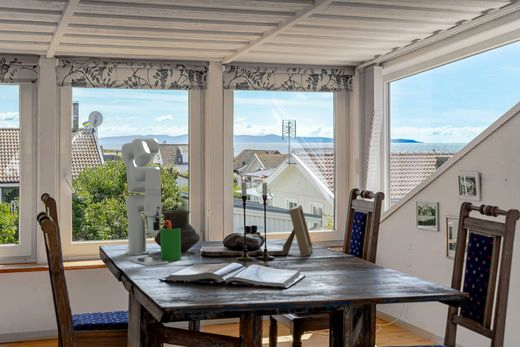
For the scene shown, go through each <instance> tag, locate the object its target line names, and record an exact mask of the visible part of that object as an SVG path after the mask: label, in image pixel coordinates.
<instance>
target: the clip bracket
mask: <svg viewBox="0 0 520 347" xmlns="http://www.w3.org/2000/svg"><path fill="white" fill-rule="evenodd" d="M128 261H129V262H132V263H135V264H140V265H143V266H148V267H149V266H158V265H164V264H165V265H166V264H169V261H165V260H161V258H159V256H156V255H154V256H152V257H151V256H145V257H143V256H142V257H135V258H134V257H133V258H129V259H128Z"/></svg>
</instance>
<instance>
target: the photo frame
mask: <svg viewBox="0 0 520 347" xmlns="http://www.w3.org/2000/svg"><path fill="white" fill-rule="evenodd" d="M303 209H304V208H303V206H302V204H300V205H296V206H293V207H291V208H290V209H289V210H288V212H289V215H290V216H289V217H290V219H291V224H292V226H293V229H292V231H291V233H290V234H289V236H288V238H287V239H286V241H285V242H284V244H283V246H282V252H281V255H282V256H284V255H285V256H286V255H289V253H290V250H291V247H292V244H293V241H294V240H295V239H296V242H297V245H298V246H297V247H298V249H299V254H300V256H301V258H302V257H305V256H306V257H307V256H310V254H311V253H312V252H313V244H312V241H311V236H310V233H309V228H308V224H307V221H306V218H305V214H304V213H305V212H304V210H303Z"/></svg>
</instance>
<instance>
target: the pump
mask: <svg viewBox="0 0 520 347" xmlns="http://www.w3.org/2000/svg"><path fill="white" fill-rule="evenodd" d="M156 218H157V217H156ZM153 222H154V218H153V216H148V229H147V233H148V234H158V233H159V231H160V230H156V231H154V230H153Z"/></svg>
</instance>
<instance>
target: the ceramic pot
mask: <svg viewBox="0 0 520 347" xmlns="http://www.w3.org/2000/svg"><path fill="white" fill-rule="evenodd" d="M190 213H191V210H188V209H187V210H186V209H177V210H176V209H175V210H173V209H172V210H166V211H162V213H161V214H162V215H163V216H164V222H165V221H171V227H172V229H179V228H180V229H181V254H184V253H187V252H188V251H189V250H190V249H191V248H192V247H194V246H195V245H196V244H198V243H199V241H200V240H201V239H200V238H201V237H200V234H199V233H197V231H196V229H195V228H194V227H193V226H192V225H191V223H190V221H189V214H190ZM161 228H165V229H167V225H165V223H164V224H163V225H162V227H161ZM154 242H155V243H156V244H157V245H158V246H159V247H160V248H161V239H160V230H159V233H156V235H155V237H154Z"/></svg>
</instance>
